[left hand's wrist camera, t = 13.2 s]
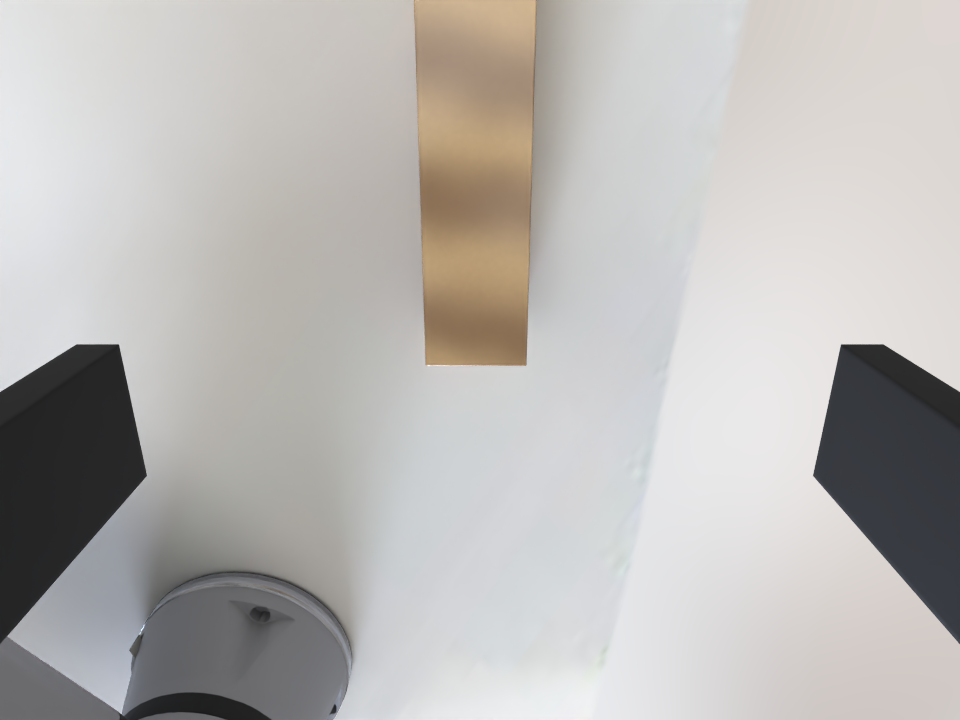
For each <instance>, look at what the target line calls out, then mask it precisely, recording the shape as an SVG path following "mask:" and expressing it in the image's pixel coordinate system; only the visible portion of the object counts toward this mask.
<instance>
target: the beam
mask: <svg viewBox="0 0 960 720" xmlns="http://www.w3.org/2000/svg"><path fill="white" fill-rule="evenodd" d="M536 7H537V0H414V13H415V44H416V76H417V107H418V138H419V170H420V201H421V232H422V264H423V295H424V327H425V358H426V366H526V360H527V325H528V289H529V254H530V219H531V184H532V148H533V113H534V78H535V42H536Z"/></svg>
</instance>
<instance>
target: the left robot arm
mask: <svg viewBox="0 0 960 720" xmlns="http://www.w3.org/2000/svg"><path fill="white" fill-rule="evenodd" d="M146 476H147V474H146V470H145V465H144V460H143V455H142V451H141V446H140V441H139V437H138V432H137V427H136V423H135V418H134V413H133V409H132V404H131V399H130V395H129V390H128V385H127V380H126V376H125V371H124V366H123V362H122V357H121V352H120V348H119V345H75V346H74V347H72V348H70V349H69V350H67V351H65V352H64V353H62V354H61V355H59V356H57V357H56V358H54V359H53V360H51V361H49V362H48V363H46V364H45V365H43V366H41V367H40V368H38V369H37V370H35V371H33V372H32V373H30V374H29V375H27V376H25V377H24V378H22V379H21V380H19V381H17V382H16V383H14V384H12V385H11V386H9V387H8V388H6V389H4V390H3V391H1V392H0V720H333V719H334V717H335V716H336V714H337V712H338V710H339V708H340V706H341V704H342V701H343V699H344V697H345V694H346V691H347V686H348V682H349V678H350V673H351V665H352V658H351V650H350V645H349V642H348V639H347V637H346V634H345V632H344V630H343V628H342V627H341V625H340V623H339V622H338V621H337V619H336V618H335V617H334V615H333V614H332V613H331V612H330V611H329V610H328V609H327V608H326V607H325V606H324V605H323V604H322V603H321V602H319V601H318V600H317V599H315V598H314V597H313V596H311V595H310V594H308V593H306V592H305V591H303V590H301V589H299V588H297V587H296V586H293V585H291V584H289V583H286V582H284V581H281V580H278V579H275V578H271V577H267V576H263V575H257V574H250V573H219V574H212V575H208V576H203V577H200V578H197V579H194V580H191V581H189V582H187V583H184V584H182V585H181V586H179V587H177V588H175V589H174V590H173V591H171V592H170V593H168V594H167V595H166V596H165V597H164V598H163V599H162V600H161V601H160V602H159V603H158V604H157V606H156V607H155V609H154V610H153V612H152V613H151V615H150V616H149V618H148V620H147V621H146V623H145V624H144V626H143V628H142V630H141V632H140V634H139V636H138V637H137V639H136V640H135V642H134V644H133V645H132V647H131V648H130V650H129V651H130V652H131V653H132V655H133V657H132V666H131V671H132V675H131V678H130V682H129V686H128V690H127V695H126V698H125V702H124V706H123V711H122V714H120V713H119V712H118V711H116V710H115V709H113V708H112V707H111V706H109V705H108V704H106V703H105V702H103V701H102V700H100V699H99V698H97V697H96V696H94V695H93V694H91V693H90V692H88V691H87V690H85V689H84V688H82V687H81V686H79V685H78V684H76V683H75V682H73V681H72V680H70V679H69V678H67V677H66V676H64V675H63V674H61V673H60V672H58V671H57V670H55V669H54V668H52V667H51V666H49V665H48V664H46V663H45V662H43V661H42V660H40V659H39V658H37V657H36V656H34V655H33V654H31V653H30V652H28V651H27V650H25V649H24V648H22V647H21V646H20V645H18V644H17V643H15V642H14V641H12V640H11V639H9V638H8V637H7V636H8V634H9V633H10V632H11V631H12V630H13V629H14V628H15V626H16V625H17V624H18V623H19V622H20V621H21V620H22V618H23V617H24V616H25V615H26V614H27V613H28V612H29V610H30V609H31V608H32V607H33V606H34V605H35V603H36V602H37V601H38V600H39V599H40V598H41V597H42V595H43V594H44V593H45V592H46V591H47V590H48V589H49V587H50V586H51V585H52V584H53V583H54V582H55V581H56V579H57V578H58V577H59V576H60V575H61V574H62V573H63V571H64V570H65V569H66V568H67V567H68V566H69V564H70V563H71V562H72V561H73V560H74V559H75V558H76V556H77V555H78V554H79V553H80V552H81V551H82V550H83V548H84V547H85V546H86V545H87V544H88V543H89V542H90V540H91V539H92V538H93V537H94V536H95V535H96V534H97V532H98V531H99V530H100V529H101V528H102V527H103V525H104V524H105V523H106V522H107V521H108V520H109V519H110V517H111V516H112V515H113V514H114V513H115V512H116V511H117V509H118V508H119V507H120V506H121V505H122V504H123V503H124V501H125V500H126V499H127V498H128V497H129V496H130V494H131V493H132V492H133V491H134V490H135V489H136V488H137V486H138V485H139V484H140V483H141V482H142V481H143V480H144V478H145V477H146ZM813 476H814V477H815V478H816V480H817V481H818V482H819V483H820V484H821V485H822V486H823V488H824V489H825V490H826V491H827V492H828V493H829V494H830V496H831V497H832V498H833V499H834V500H835V501H836V503H837V504H838V505H839V506H840V507H841V508H842V509H843V511H844V512H845V513H846V514H847V515H848V516H849V517H850V519H851V520H852V521H853V522H854V523H855V524H856V525H857V527H858V528H859V529H860V530H861V531H862V532H863V533H864V535H865V536H866V537H867V538H868V539H869V540H870V541H871V543H872V544H873V545H874V546H875V547H876V548H877V550H878V551H879V552H880V553H881V554H882V555H883V556H884V558H885V559H886V560H887V561H888V562H889V563H890V564H891V566H892V567H893V568H894V569H895V570H896V571H897V573H898V574H899V575H900V576H901V577H902V578H903V579H904V581H905V582H906V583H907V584H908V585H909V586H910V587H911V589H912V590H913V591H914V592H915V593H916V594H917V595H918V597H919V598H920V599H921V600H922V601H923V602H924V603H925V605H926V606H927V607H928V608H929V609H930V610H931V612H932V613H933V614H934V615H935V616H936V617H937V618H938V620H939V621H940V622H941V623H942V624H943V625H944V626H945V628H946V629H947V630H948V631H949V632H950V633H951V634H952V636H953V637H954V638H955V639H956V640H957V641H958V643H959V644H960V392H959V391H957V390H956V389H954V388H952V387H951V386H949V385H948V384H946V383H944V382H943V381H941V380H939V379H938V378H936V377H935V376H933V375H931V374H930V373H928V372H927V371H925V370H923V369H922V368H920V367H919V366H917V365H915V364H914V363H912V362H911V361H909V360H907V359H906V358H904V357H903V356H901V355H899V354H898V353H896V352H895V351H893V350H891V349H890V348H888V347H886V346H885V345H841V348H840V352H839V357H838V362H837V367H836V371H835V376H834V380H833V385H832V390H831V395H830V399H829V404H828V409H827V413H826V418H825V423H824V427H823V432H822V437H821V441H820V446H819V451H818V456H817V460H816V465H815V470H814V474H813Z"/></svg>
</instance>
